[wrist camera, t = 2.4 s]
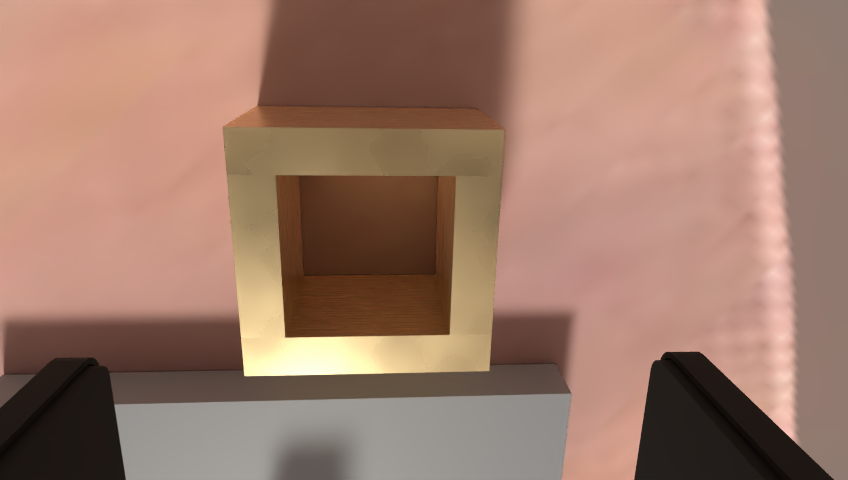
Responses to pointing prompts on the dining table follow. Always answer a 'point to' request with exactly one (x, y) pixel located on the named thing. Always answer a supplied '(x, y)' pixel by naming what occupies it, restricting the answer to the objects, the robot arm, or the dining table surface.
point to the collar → (363, 294)
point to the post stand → (339, 424)
